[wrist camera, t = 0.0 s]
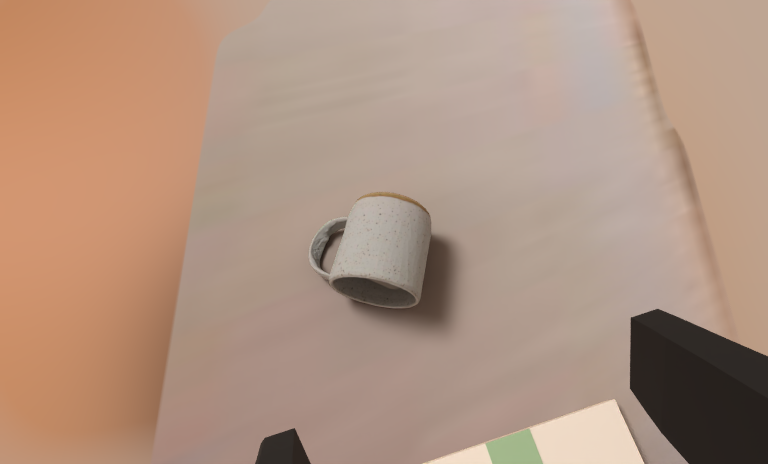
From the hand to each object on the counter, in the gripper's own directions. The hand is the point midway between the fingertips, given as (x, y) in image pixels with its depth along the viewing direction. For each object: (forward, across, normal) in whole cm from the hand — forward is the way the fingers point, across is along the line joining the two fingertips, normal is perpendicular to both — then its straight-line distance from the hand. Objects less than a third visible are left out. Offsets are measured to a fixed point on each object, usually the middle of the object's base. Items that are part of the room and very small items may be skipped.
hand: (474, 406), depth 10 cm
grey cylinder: (+32, 0, +15) cm, 36 cm away
